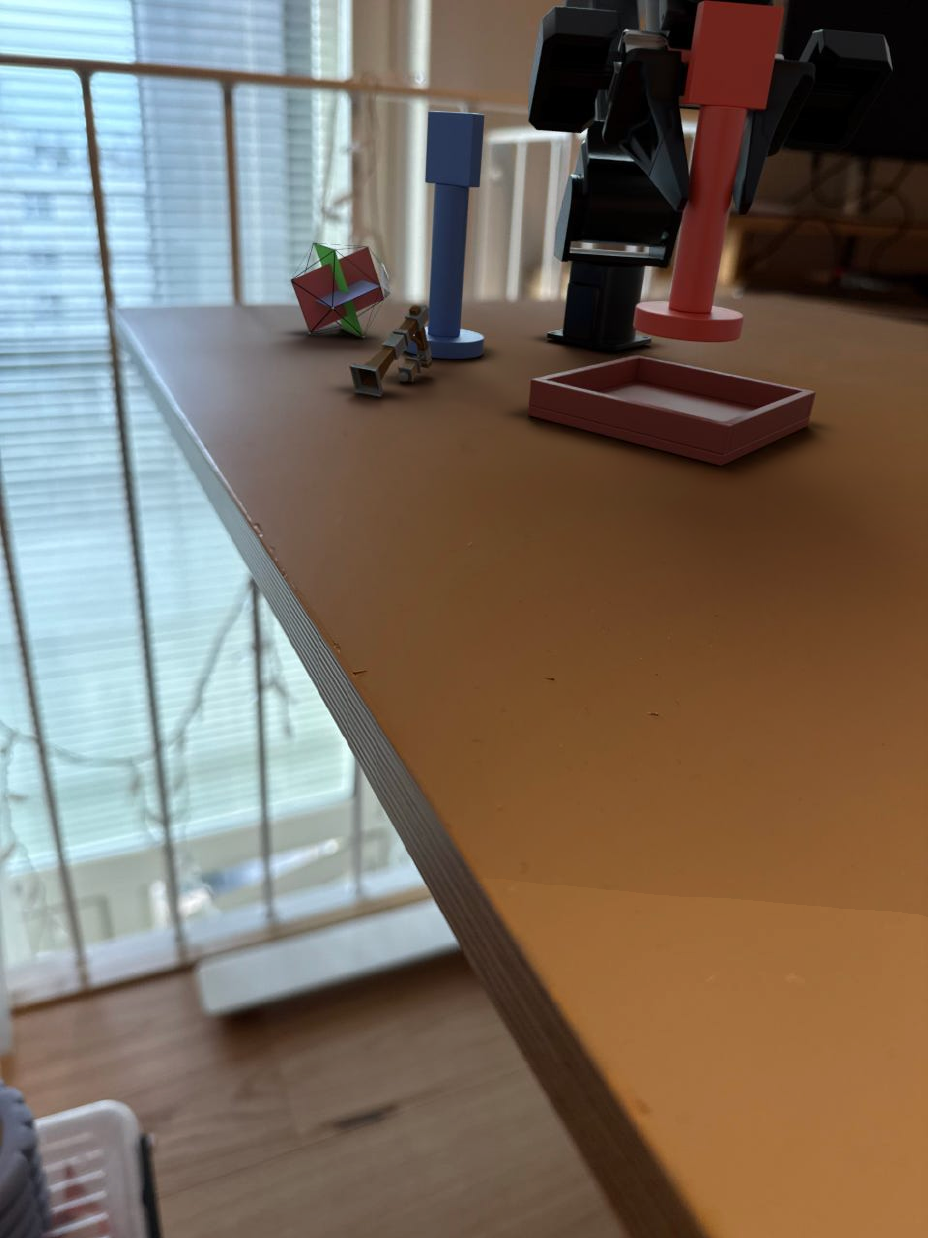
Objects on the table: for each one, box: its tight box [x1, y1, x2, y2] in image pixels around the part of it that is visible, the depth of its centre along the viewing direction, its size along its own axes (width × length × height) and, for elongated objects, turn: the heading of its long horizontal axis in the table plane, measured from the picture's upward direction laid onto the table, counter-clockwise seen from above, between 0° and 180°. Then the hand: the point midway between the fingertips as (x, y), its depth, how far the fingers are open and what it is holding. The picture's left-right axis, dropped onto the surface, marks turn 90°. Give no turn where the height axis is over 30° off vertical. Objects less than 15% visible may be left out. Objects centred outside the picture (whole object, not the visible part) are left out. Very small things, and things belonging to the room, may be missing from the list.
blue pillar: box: [404, 110, 485, 360], centre depth 65 cm, size 6×6×16 cm
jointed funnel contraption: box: [348, 303, 433, 397], centre depth 58 cm, size 2×8×4 cm, turn 153°
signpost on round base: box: [633, 0, 785, 343], centre depth 49 cm, size 6×6×16 cm
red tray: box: [527, 354, 817, 467], centre depth 54 cm, size 12×12×2 cm
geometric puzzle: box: [289, 241, 391, 338], centre depth 71 cm, size 7×7×8 cm
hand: (714, 207), depth 48 cm, fingers closed on signpost on round base, 3 cm apart
